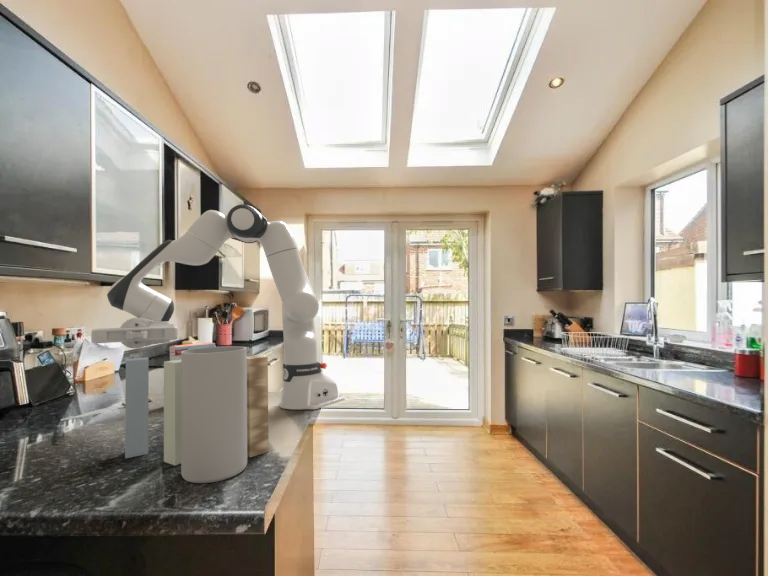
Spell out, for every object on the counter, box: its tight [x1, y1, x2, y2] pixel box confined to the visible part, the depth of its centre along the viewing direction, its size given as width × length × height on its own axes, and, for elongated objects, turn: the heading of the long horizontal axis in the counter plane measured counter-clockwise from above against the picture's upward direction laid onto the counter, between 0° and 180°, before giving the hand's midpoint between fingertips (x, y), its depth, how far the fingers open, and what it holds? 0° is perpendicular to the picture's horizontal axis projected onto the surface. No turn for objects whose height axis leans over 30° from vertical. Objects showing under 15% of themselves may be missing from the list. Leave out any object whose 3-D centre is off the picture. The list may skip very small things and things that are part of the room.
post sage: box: [163, 359, 181, 466], centre depth 87 cm, size 4×4×22 cm
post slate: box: [124, 356, 150, 459], centre depth 92 cm, size 4×4×22 cm
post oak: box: [247, 354, 270, 458], centre depth 91 cm, size 4×4×22 cm
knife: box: [61, 396, 154, 421], centre depth 131 cm, size 27×2×5 cm
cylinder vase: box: [180, 346, 248, 484], centre depth 81 cm, size 12×12×25 cm
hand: (136, 335), depth 102 cm, fingers closed
